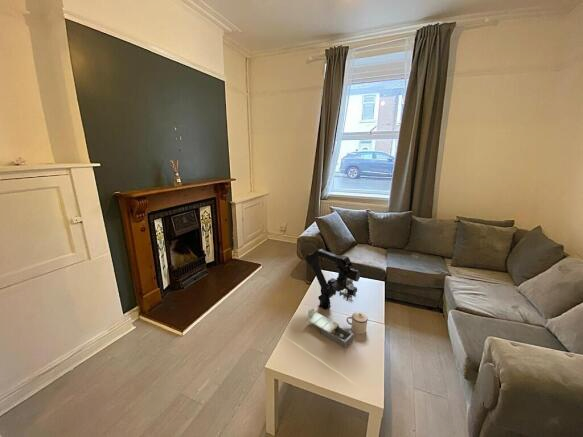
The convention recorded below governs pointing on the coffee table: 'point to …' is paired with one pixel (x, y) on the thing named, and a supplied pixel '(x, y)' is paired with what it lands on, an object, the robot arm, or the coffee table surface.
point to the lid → (321, 321)
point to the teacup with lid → (358, 322)
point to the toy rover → (350, 283)
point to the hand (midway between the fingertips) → (340, 297)
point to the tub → (335, 337)
